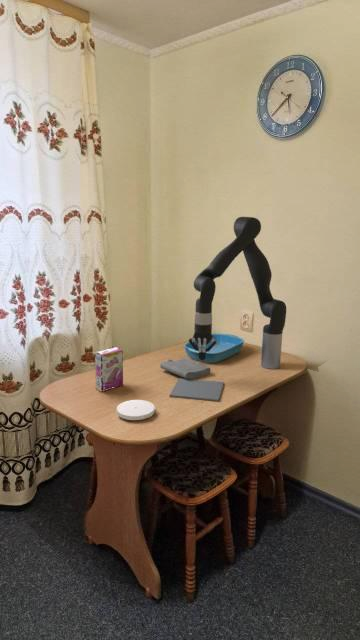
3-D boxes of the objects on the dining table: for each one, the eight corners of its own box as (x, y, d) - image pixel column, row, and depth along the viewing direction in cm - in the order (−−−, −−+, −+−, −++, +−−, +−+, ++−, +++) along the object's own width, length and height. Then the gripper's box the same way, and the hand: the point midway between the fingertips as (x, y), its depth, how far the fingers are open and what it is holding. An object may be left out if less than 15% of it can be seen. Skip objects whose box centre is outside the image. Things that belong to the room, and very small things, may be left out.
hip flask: (186, 372, 190) (156, 361, 204) (185, 381, 191) (156, 369, 205) (210, 367, 201) (181, 356, 215) (210, 375, 201) (181, 364, 216)
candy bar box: (102, 392, 179) (101, 354, 175) (95, 389, 183) (94, 352, 179) (124, 385, 187) (123, 349, 183) (117, 382, 190) (116, 346, 186)
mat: (179, 379, 194) (179, 378, 194) (223, 383, 190) (223, 382, 190) (169, 396, 176) (169, 395, 176) (218, 401, 172) (218, 399, 172)
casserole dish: (211, 368, 209) (212, 354, 207) (176, 359, 222) (176, 345, 220) (250, 350, 237) (251, 338, 235) (216, 343, 250) (216, 331, 248)
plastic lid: (155, 422, 155) (155, 415, 155) (115, 423, 154) (115, 416, 154) (154, 405, 169) (154, 399, 168) (117, 406, 168) (117, 400, 167)
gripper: (219, 321, 191) (218, 358, 195) (190, 319, 194) (189, 356, 198) (217, 325, 184) (215, 363, 188) (186, 323, 186) (186, 361, 191)
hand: (202, 359), depth 193 cm, fingers closed
